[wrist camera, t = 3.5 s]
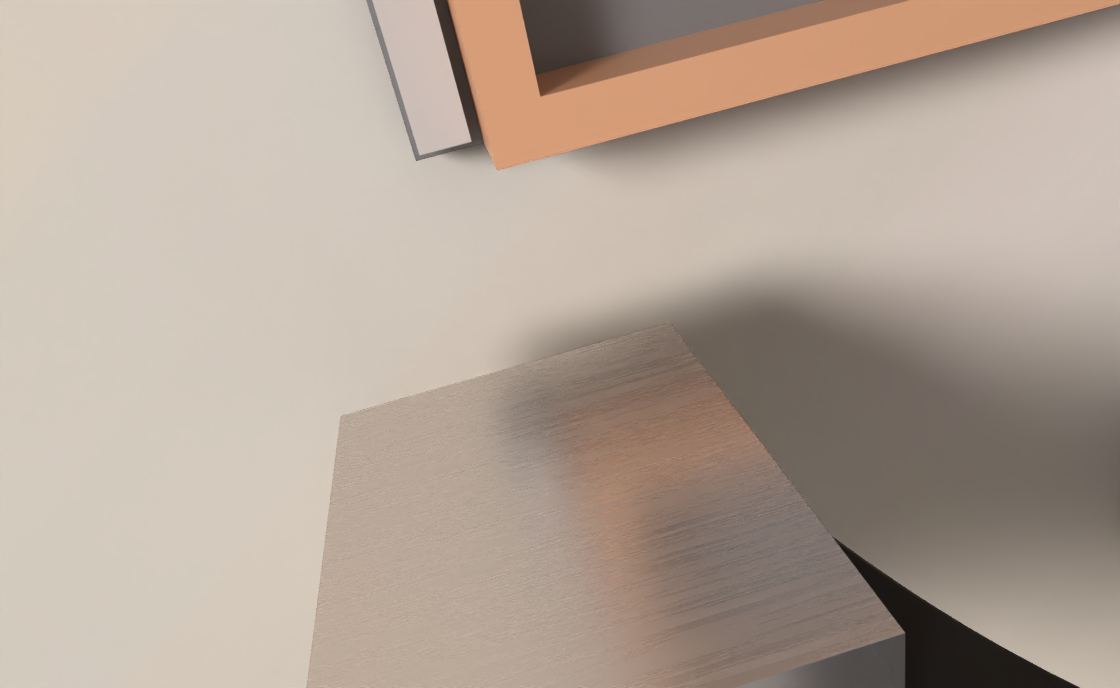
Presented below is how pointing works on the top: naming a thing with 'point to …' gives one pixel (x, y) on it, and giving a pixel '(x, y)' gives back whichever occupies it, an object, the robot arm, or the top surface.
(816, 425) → the top surface
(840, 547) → the robot arm
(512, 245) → the top surface
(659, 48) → the frame
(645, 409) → the brushed metal cube
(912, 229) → the top surface
